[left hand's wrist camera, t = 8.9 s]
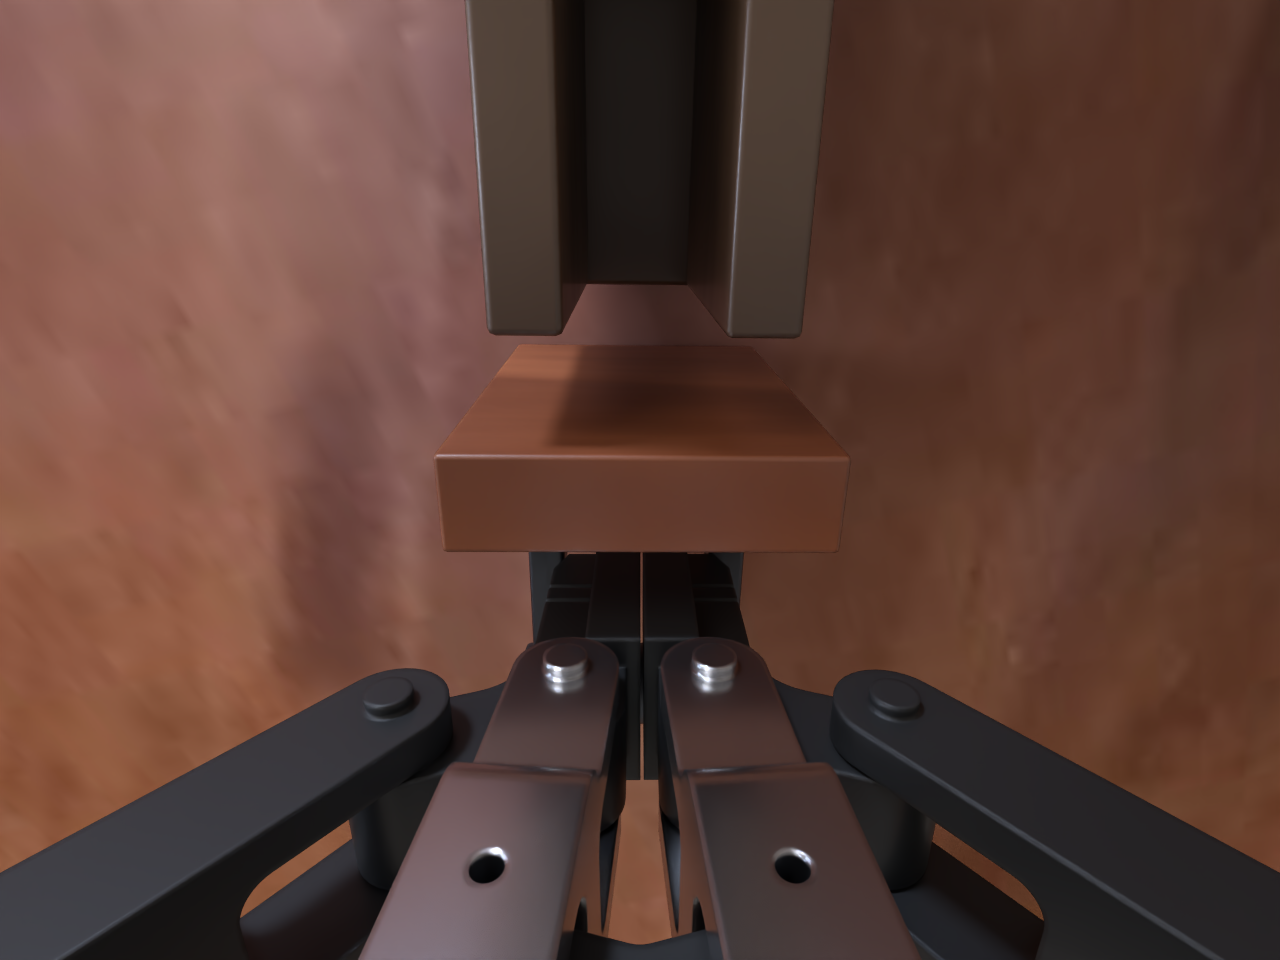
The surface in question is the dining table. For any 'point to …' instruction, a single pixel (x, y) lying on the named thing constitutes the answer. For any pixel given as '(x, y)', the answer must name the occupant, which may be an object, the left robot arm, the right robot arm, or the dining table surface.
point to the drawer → (643, 282)
